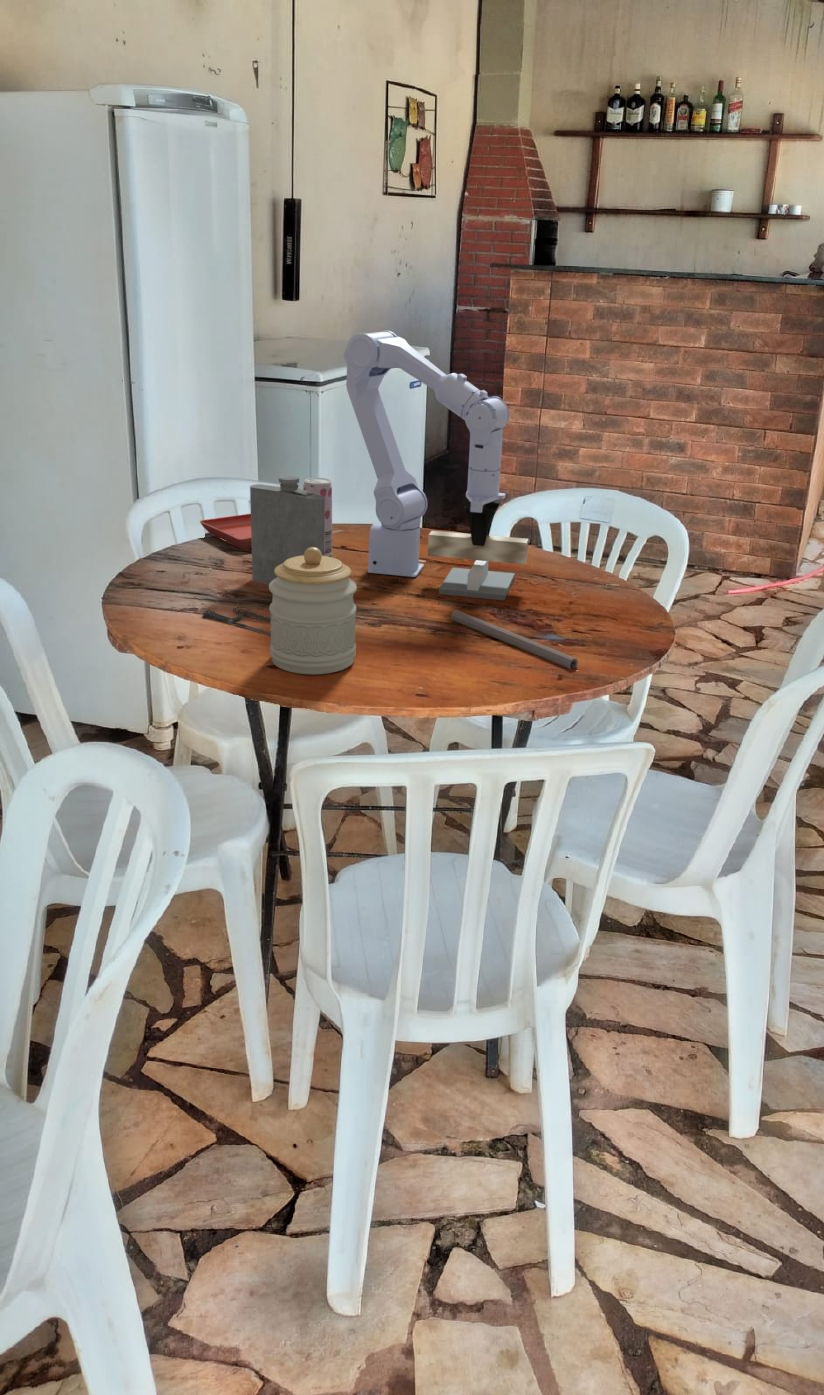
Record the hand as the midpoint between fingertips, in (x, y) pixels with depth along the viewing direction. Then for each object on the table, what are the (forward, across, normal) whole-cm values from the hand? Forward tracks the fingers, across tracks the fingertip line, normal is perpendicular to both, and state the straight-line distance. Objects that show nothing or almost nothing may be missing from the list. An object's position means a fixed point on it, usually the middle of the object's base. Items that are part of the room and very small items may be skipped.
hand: (480, 542), depth 200 cm
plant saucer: (+9, +19, +50) cm, 54 cm away
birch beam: (+3, 0, 0) cm, 3 cm away
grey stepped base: (+8, 0, 0) cm, 8 cm away
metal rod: (+9, -28, -10) cm, 31 cm away
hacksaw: (+9, -31, +29) cm, 43 cm away
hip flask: (+8, -11, +33) cm, 36 cm away
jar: (+8, -45, +18) cm, 49 cm away
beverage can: (+8, +10, +34) cm, 36 cm away
